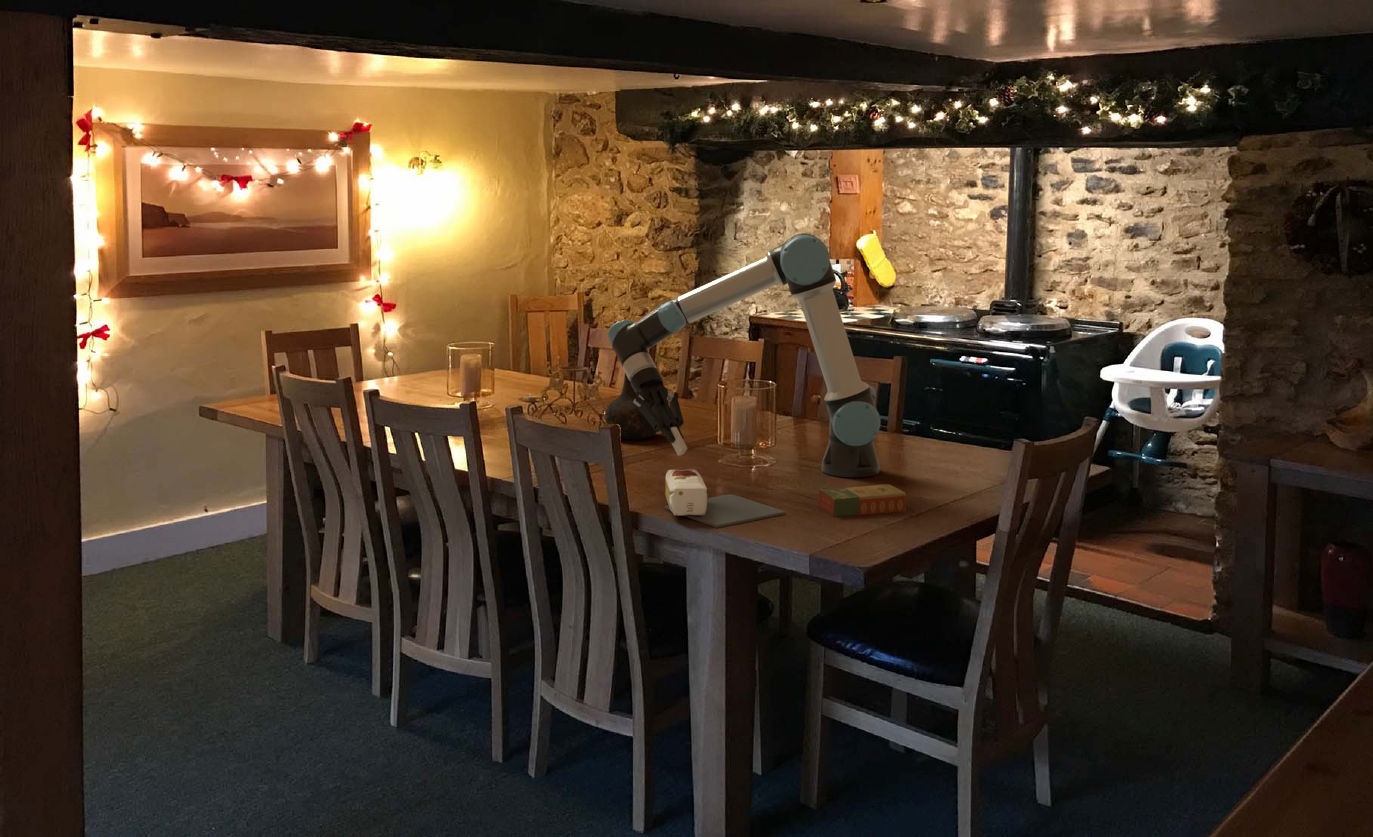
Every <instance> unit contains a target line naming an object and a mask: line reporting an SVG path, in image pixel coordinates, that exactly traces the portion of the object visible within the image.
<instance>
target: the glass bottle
mask: <svg viewBox="0 0 1373 837" xmlns="http://www.w3.org/2000/svg"><path fill="white" fill-rule="evenodd" d="M636 397H637V394H636V393H635V391H634V389H633V387H632V385H631V381H630V380H629V379H628V377H627V375H626V373H625V372H624V378H623V385H622V389H621V392H620V395H619V396H618V397H617V398H615V399H613V400H612V401H610V402H609V404H608V405H607V407H606V409H605V412H604V413H605V414H604V418H605V419H604V420H605V424H606V425H607V424H619V425H620V427H621V437H620V438H622V439H625V440H643V439H648V438H651V437H652V436H654V435H656V434H657V432H656V431H655V430H654V429H653V427H652V426H651V425H650V424H649V422H648V421H647V420H646V418H645V417H644V416H643V414H642V413H641V412H640V411H639V409H637V408H636V407H635V406H633V404H632V403H633V401H634V400H635V398H636Z"/></svg>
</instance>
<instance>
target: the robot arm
mask: <svg viewBox="0 0 1373 837" xmlns="http://www.w3.org/2000/svg"><path fill="white" fill-rule="evenodd" d="M830 258H831V255H830V253H829V249H828V247H827V245H826V244H825V243H824V242H823V240H821V239H820V238H819V237H817V236H816V235H813V234H810V233H799V234H795V235H793V236H791V237H790V238H789V239H787V240H786V241H784V242H783V243H781V244H780V245H778V246H777V247H774V248H773V249H770V250H768V251H767V253H766V254H765V257H763V258H761V259H758V260H756V261H754V262H752V263H750V264H747V265H745V266H743V267H740V268H738V269H736V270H734V271H731V272H729V273H727V274H725V275H723V276H721V277H719V278H716V279H714V280H713V281H710V282H708V283H706V284H704V285H701V286H698V287H697V288H695V289H692V290H690V291H688V292H686V293H683V294H682V295H679V296H678V297H675V298H673V299H670V300H668V301H666V302H663V303H660V304H658V305H656V307H654V309H653V310H652V311H651V312H649V313H648V314H646V315H645V316H643V317H641V319H639V320H637V321H635V322H634V321H632V320H630V319H622V320H620V321H616V322H614V323H613V324H612V325H611V326H610V328H608V331H607V337H608V340H609V342H610V344H611V349H612V350H613V351H614V353H615V356H616V357H617V359H618V361H619V362H620V364H621V367H622V368H623V371H624V374H625V373H626V375H627V377H628V379H629V380H630V381H631V385H632V387H633V389H634V391H635V393H636V394H637V397H636V398H635V400H634V401H633V403H632V404H633V406H635V407H636V408H637V409H639V411H640V412H641V413H642V414H643V416H644V417H645V418H646V420H647V421H648V422H649V424H650V425H651V426H652V427H653V429H654V430H655V431H656V433H659V432H660V435H662V436H665V437H666V439H667V441H668V443H669V444H671V445H672V448H673V449H674V451H675V453H676V454H677V456H678V457H679V456H684V454H685V453H686V451H687V450H688V446H687V444H686V443H685V441H684V439H685V437H684V435H683V433H682V430H681V427H682V426H683V425H684V418H683V414H682V409H681V406H680V402H679V392H677V391H674V392H673V393H672V392H670V391H669V389H668V388H667V387H666V386H665V385H664V380H663V378H662V376H661V374H660V372H659V370H658V369H657V366H656V363H655V362H654V360H653V358H652V357H651V354H650V353H649V349H651V348H653V347H654V346H655V345H657V344H659V343H660V342H662V341H664V340H665V339H667V338H668V337H670V336H672V335H673V334H676V333H678V331H680V330H681V329H682V328H683V327H685V326H687V325H689V324H692V323H693V322H696V321H698V320H700V319H702V318H704V317H708V315H711V314H714V313H715V312H717V311H718V312H719V311H720V310H722V309H725V308H727V307H729V306H731V305H734V304H736V303H738V302H740V301H742V300H745V299H747V298H749V297H751V296H753V295H755V294H758V293H760V292H762V291H764V290H767V289H770V288H771V287H774V286H776V285H781V286H785V285H787V286H788V289H789V292H790V296H791V297H794V298H795V299H797V300H798V301H799V304H800V307H801V309H802V313H803V316H804V319H805V322H806V326H807V328H808V329H807V330H808V331H809V335H810V339H811V342H812V345H813V348H814V351H815V354H816V357H817V361H818V364H819V367H820V369H821V373H822V377H823V379H824V382H825V384H826V385H825V386H826V390H827V392H826V394H825V396H824V402H825V406H826V409H827V412H828V415H829V428H828V430H829V435H828V441H829V442H828V444H827V447H826V449H825V452H824V456H823V458H822V461H821V471H822V472H823V473H825V474H827V475H829V476H834V477H841V478H867V477H872V476H876V475H878V474H879V473H880V462H879V458H878V455H877V451H876V448H875V445H874V444H875V443H874V440H875V438H876V437H877V435H878V433H879V430H880V428H881V421H882V419H881V416H880V413H879V411H878V410H877V407H876V398H877V396H876V389H875V388H874V386H871V385H869V384H868V383H866V382H864V381H862V379H861V376H860V373H859V370H858V366H857V363H856V359H855V357H854V354H853V351H852V347H851V344H850V340H849V338H848V335H847V331H846V327H845V326H844V322H843V319H842V315H841V311H840V309H839V306H838V303H837V299H836V297H835V293H834V287H835V285H836V282H837V279H836V275H835V272H834V268H833V265H832V263H831V259H830Z"/></svg>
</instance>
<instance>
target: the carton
mask: <svg viewBox="0 0 1373 837" xmlns="http://www.w3.org/2000/svg"><path fill="white" fill-rule="evenodd" d="M817 507H818V508H819V509H820V510H822V511H824V512H825V513H826V514H829V515H830V516H832V517H835V518H836V517H837V518H838V517H846V516H847V517H848V516H861V515H862V516H863V515H873V514H886V513H887V514H888V513H889V514H890V513H899V512H906V511H907V494H906V492H905V491H903V490H901V489H900V488H897V487H895V486H893V485H891V484H890V483H885V484H883V483H882V484H873V485H872V484H871V485H862V486H847V487H846V486H845V487H834V488H820V489H819V490H818V498H817Z"/></svg>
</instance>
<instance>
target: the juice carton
mask: <svg viewBox="0 0 1373 837" xmlns="http://www.w3.org/2000/svg"><path fill="white" fill-rule="evenodd" d="M664 480H665V484H664V485H665V488H664V489H665V493H664V494H665V498H666V501H667V504H668V505H669V507H670V510H671V511H670V512H671V513H672V514H673V516H674V517H675V516H676V517H677V516H683V515H705V512H706V509H707V498H708V488H707V486H706V484H705V482H704V479H703V477H702V474H700V473H699V472H698V470H697V469H668V471H666V474H665V479H664Z"/></svg>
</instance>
